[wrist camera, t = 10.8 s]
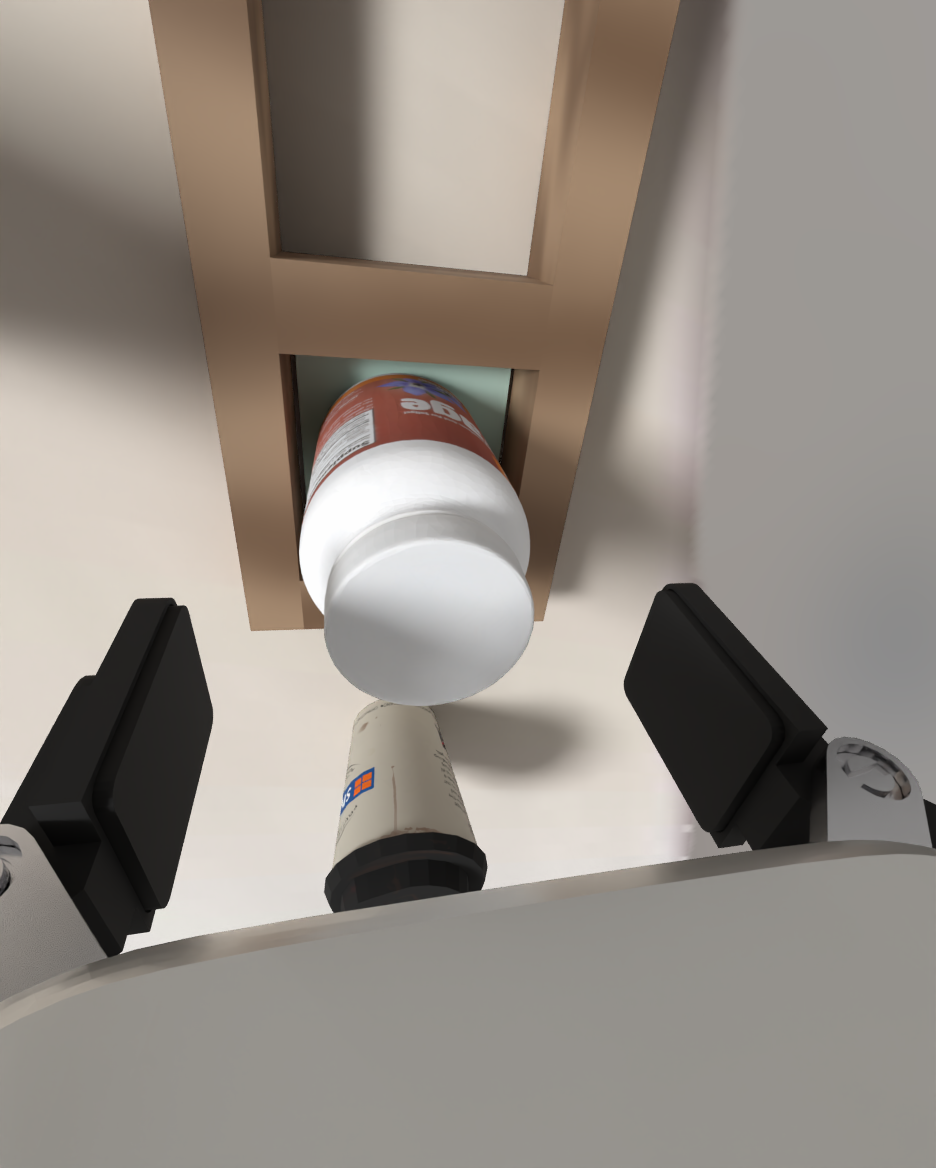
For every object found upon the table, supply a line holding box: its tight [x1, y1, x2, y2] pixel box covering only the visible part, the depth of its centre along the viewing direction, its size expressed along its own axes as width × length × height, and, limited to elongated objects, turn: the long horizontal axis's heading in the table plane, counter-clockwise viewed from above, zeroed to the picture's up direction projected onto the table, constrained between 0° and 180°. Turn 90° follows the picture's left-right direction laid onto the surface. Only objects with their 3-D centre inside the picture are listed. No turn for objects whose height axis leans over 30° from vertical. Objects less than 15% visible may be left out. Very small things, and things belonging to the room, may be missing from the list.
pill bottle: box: [299, 373, 534, 706], centre depth 16 cm, size 6×6×11 cm
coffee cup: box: [324, 700, 487, 913], centre depth 26 cm, size 7×7×10 cm
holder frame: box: [148, 0, 680, 631], centre depth 17 cm, size 23×12×3 cm, turn 174°
